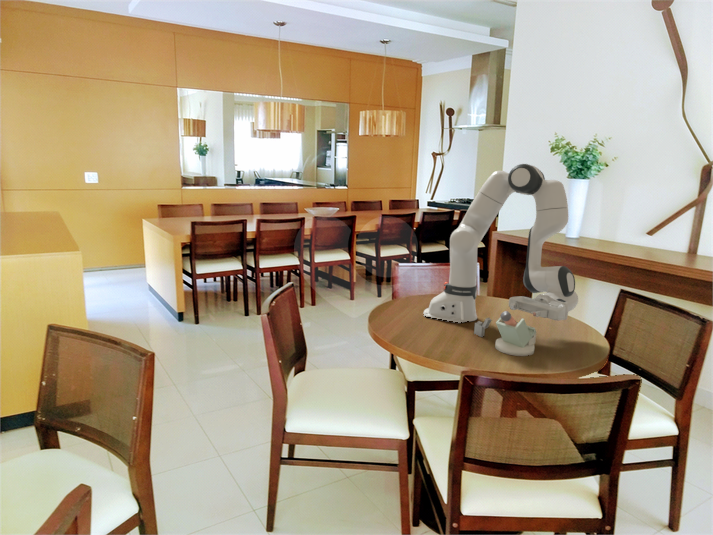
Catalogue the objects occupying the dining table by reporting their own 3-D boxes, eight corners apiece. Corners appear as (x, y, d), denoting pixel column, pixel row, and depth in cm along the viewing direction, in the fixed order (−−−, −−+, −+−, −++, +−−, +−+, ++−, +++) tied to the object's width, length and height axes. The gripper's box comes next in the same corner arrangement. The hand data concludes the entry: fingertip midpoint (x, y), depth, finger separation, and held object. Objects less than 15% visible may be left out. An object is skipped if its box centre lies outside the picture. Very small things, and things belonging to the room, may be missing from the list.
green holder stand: (518, 358, 160) (522, 322, 157) (487, 346, 170) (490, 312, 167) (541, 351, 167) (545, 316, 165) (510, 340, 178) (513, 307, 175)
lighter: (473, 333, 184) (475, 313, 182) (477, 333, 184) (478, 313, 183) (486, 339, 177) (488, 318, 176) (490, 339, 178) (492, 318, 177)
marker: (515, 338, 168) (501, 320, 161) (513, 330, 170) (499, 312, 164) (524, 336, 167) (510, 317, 160) (523, 328, 169) (509, 310, 162)
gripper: (522, 290, 183) (499, 295, 175) (573, 303, 167) (550, 309, 159) (521, 306, 185) (498, 311, 177) (571, 320, 168) (548, 327, 160)
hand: (523, 310), depth 168 cm, fingers open, 8 cm apart
